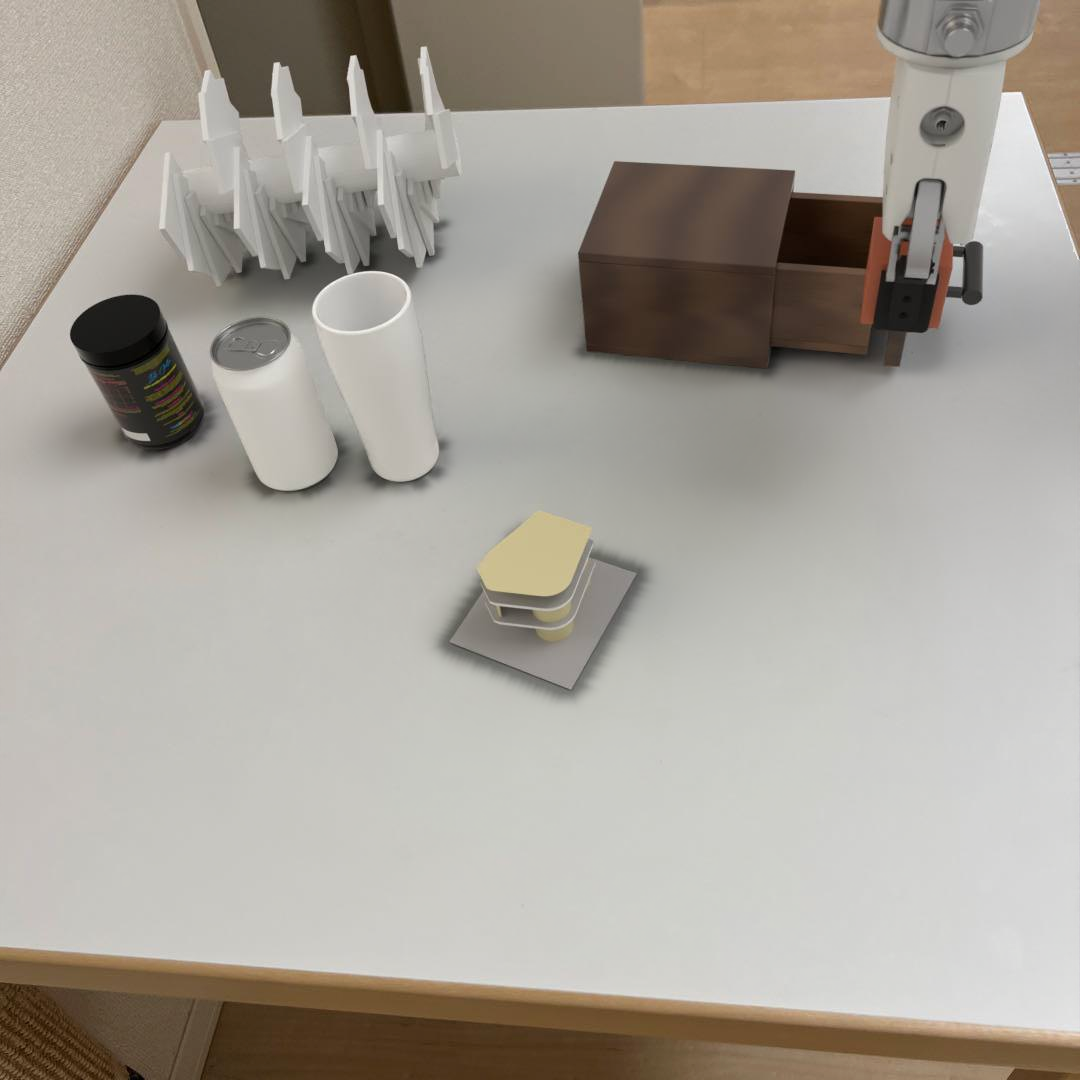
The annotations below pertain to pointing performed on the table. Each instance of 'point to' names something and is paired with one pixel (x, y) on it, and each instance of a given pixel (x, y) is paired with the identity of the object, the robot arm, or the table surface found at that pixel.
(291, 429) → the can
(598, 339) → the cabinet
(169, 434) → the supplement container
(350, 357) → the drinking glass
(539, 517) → the stacked layers on plate
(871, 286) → the block
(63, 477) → the table surface
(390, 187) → the spiral staircase
